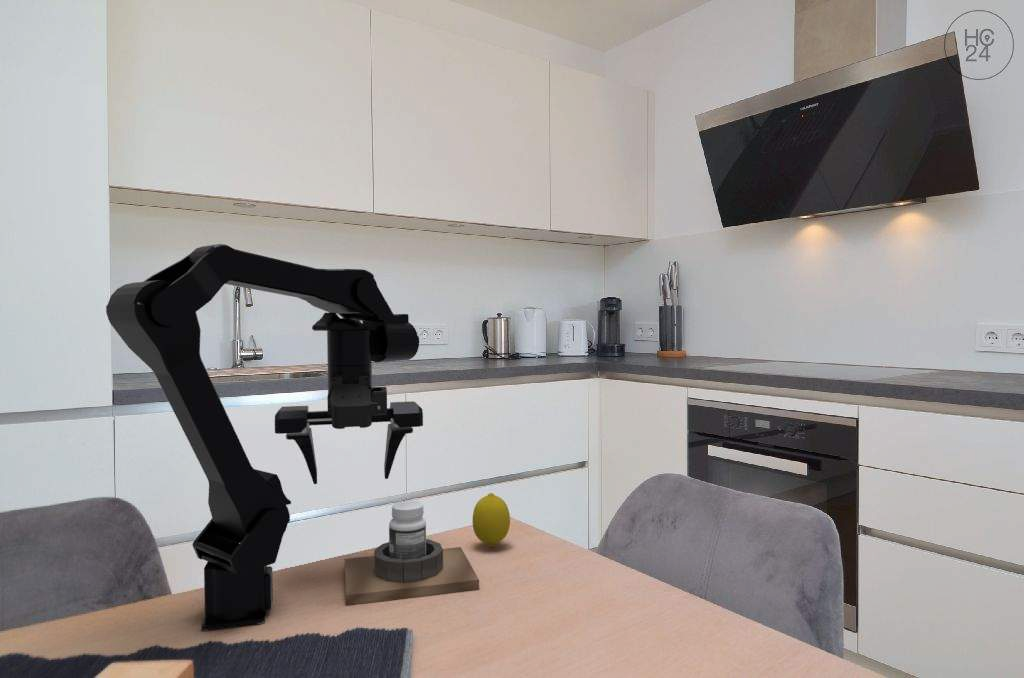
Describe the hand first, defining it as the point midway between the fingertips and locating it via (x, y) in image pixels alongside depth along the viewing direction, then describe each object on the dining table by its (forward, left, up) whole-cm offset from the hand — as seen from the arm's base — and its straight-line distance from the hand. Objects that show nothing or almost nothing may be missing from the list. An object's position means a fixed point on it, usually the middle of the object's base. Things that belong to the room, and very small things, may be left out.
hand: (351, 480), depth 86 cm
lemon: (+20, +3, -12) cm, 24 cm away
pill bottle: (+7, -5, -11) cm, 14 cm away
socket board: (+7, -5, -12) cm, 15 cm away
